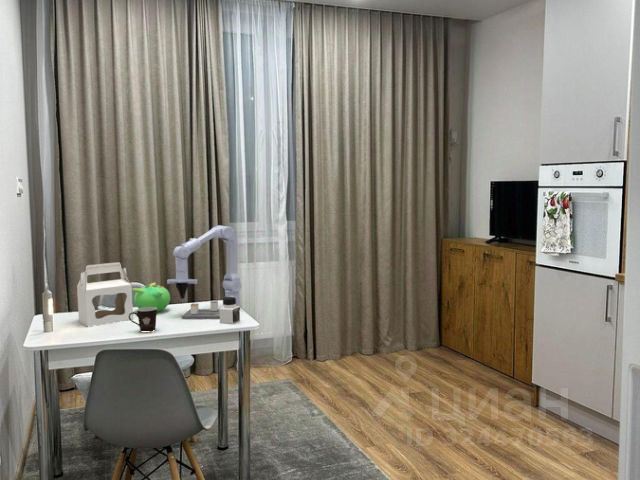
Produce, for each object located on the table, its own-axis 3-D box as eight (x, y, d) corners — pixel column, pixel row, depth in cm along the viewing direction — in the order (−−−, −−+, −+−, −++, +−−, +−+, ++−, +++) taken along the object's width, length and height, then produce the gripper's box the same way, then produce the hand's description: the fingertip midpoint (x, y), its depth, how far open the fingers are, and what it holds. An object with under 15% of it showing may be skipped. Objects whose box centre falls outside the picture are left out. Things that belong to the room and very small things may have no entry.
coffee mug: (161, 329, 265) (160, 307, 264) (151, 333, 257) (150, 311, 256) (139, 327, 268) (138, 306, 267) (128, 332, 260) (127, 310, 259)
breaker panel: (190, 312, 298) (190, 309, 298) (227, 312, 297) (227, 309, 297) (181, 319, 283) (181, 315, 283) (220, 319, 282) (219, 316, 282)
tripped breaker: (192, 312, 289) (192, 303, 288) (198, 312, 288) (198, 303, 288) (190, 314, 285) (190, 304, 285) (197, 314, 285) (196, 304, 285)
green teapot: (174, 308, 308) (173, 280, 306) (165, 315, 291) (163, 286, 290) (140, 308, 308) (139, 281, 307) (129, 315, 292) (128, 286, 290)
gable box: (87, 327, 270) (83, 267, 267) (78, 322, 280) (75, 264, 277) (133, 319, 284) (131, 262, 281) (123, 314, 294) (121, 260, 291)
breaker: (212, 309, 295) (211, 300, 294) (218, 309, 295) (217, 300, 294) (210, 311, 292) (210, 301, 291) (216, 311, 292) (216, 301, 291)
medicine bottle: (233, 324, 272) (232, 299, 271) (219, 323, 275) (218, 298, 273) (240, 320, 279) (239, 296, 278) (226, 319, 281) (226, 295, 280)
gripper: (164, 272, 281) (165, 299, 283) (194, 272, 281) (195, 299, 282) (169, 269, 288) (170, 296, 290) (198, 269, 288) (198, 296, 289)
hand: (182, 298), depth 286 cm, fingers closed
